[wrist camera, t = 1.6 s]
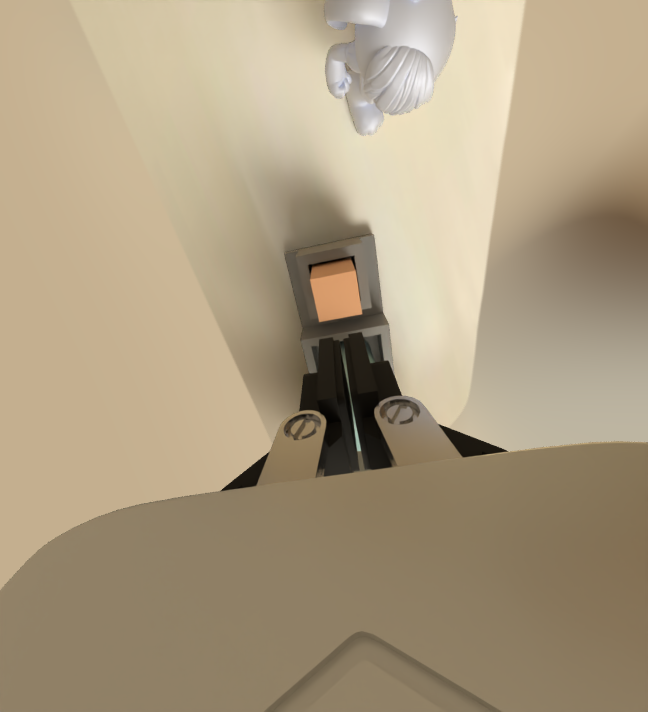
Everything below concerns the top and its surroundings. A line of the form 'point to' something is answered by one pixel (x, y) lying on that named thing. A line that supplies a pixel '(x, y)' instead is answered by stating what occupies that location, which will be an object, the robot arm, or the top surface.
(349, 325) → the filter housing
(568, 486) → the robot arm
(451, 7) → the toy figurine
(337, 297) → the plunger
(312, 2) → the top surface
